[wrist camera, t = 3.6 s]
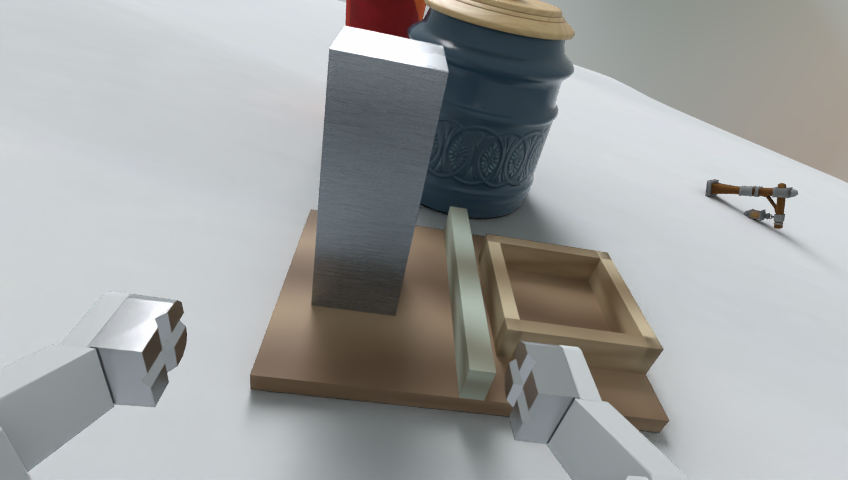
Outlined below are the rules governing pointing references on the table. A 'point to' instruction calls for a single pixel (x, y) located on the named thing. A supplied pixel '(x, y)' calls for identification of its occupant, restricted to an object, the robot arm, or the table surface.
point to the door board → (463, 327)
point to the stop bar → (373, 165)
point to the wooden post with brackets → (779, 192)
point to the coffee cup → (384, 15)
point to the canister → (492, 99)
